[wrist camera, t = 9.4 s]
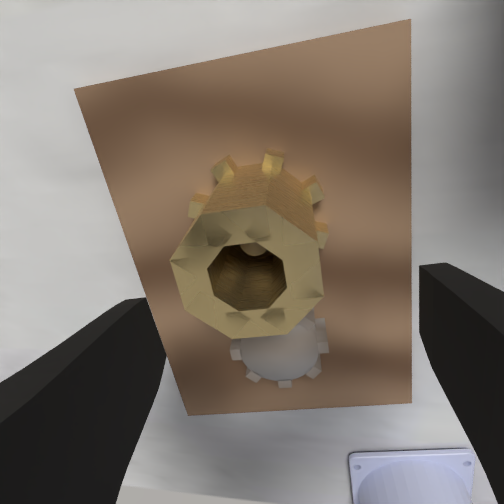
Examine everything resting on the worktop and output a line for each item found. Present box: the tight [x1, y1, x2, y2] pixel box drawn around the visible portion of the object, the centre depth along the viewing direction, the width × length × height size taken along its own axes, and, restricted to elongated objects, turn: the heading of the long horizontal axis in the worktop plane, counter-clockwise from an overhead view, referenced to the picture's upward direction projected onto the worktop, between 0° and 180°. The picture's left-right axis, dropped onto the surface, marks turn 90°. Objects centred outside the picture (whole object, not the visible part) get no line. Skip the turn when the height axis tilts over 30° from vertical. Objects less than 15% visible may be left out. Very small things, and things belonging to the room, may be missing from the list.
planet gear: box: [169, 148, 329, 339], centre depth 16 cm, size 6×6×6 cm
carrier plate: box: [74, 19, 412, 416], centre depth 19 cm, size 20×14×4 cm
